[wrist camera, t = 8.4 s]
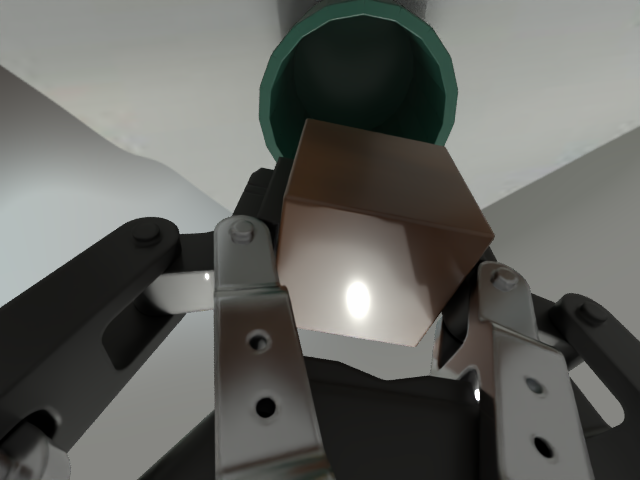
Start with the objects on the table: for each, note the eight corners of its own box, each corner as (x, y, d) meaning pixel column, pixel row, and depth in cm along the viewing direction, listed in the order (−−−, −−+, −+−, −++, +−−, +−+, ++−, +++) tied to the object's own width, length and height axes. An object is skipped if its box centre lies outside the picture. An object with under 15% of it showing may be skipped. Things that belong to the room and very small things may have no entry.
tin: (260, 71, 25) (220, 117, 17) (360, -54, 20) (369, -71, 12) (346, 159, 30) (346, 228, 22) (446, 75, 25) (494, 125, 17)
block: (289, 228, 13) (267, 324, 9) (306, 116, 10) (282, 195, 6) (397, 248, 13) (416, 348, 10) (446, 145, 10) (498, 236, 7)
